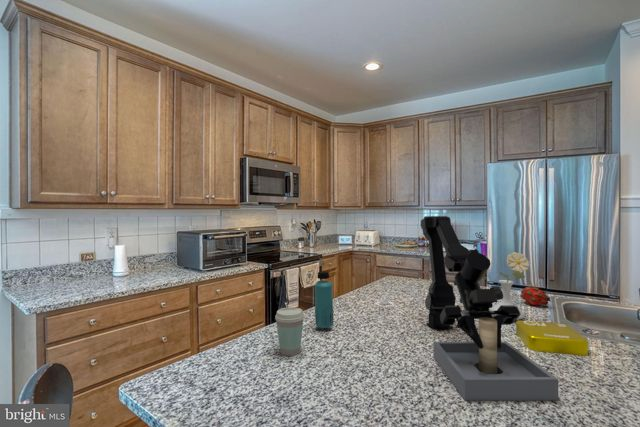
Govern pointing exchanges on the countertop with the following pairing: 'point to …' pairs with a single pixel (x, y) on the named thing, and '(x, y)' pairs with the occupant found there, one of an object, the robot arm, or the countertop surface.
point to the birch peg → (488, 345)
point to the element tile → (551, 338)
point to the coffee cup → (289, 330)
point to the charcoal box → (508, 384)
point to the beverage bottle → (323, 301)
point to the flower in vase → (516, 264)
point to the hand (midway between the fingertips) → (490, 348)
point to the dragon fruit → (534, 296)
